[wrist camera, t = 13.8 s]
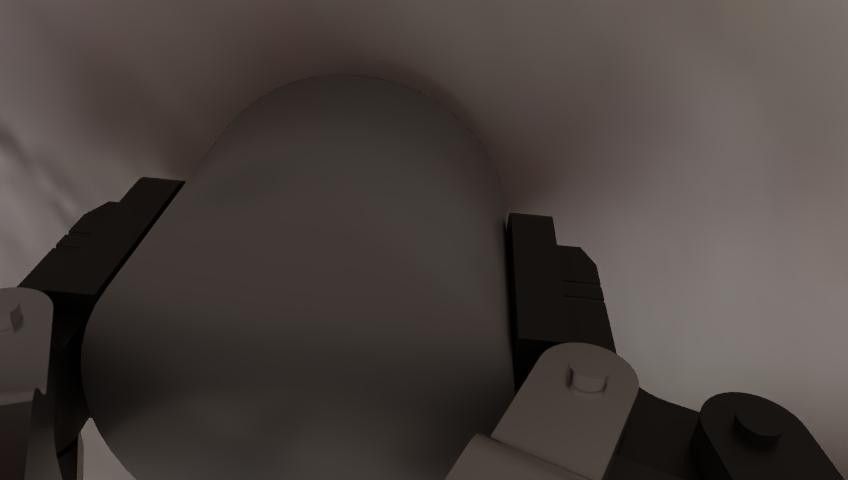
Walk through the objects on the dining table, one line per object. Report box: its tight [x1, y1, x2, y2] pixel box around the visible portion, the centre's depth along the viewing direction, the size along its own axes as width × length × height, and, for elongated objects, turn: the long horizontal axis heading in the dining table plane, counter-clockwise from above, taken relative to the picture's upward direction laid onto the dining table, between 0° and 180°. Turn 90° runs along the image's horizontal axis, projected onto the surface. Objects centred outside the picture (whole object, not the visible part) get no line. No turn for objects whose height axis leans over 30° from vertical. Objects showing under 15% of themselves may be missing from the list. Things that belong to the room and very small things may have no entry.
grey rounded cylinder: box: [80, 75, 515, 480], centre depth 12 cm, size 6×6×5 cm
